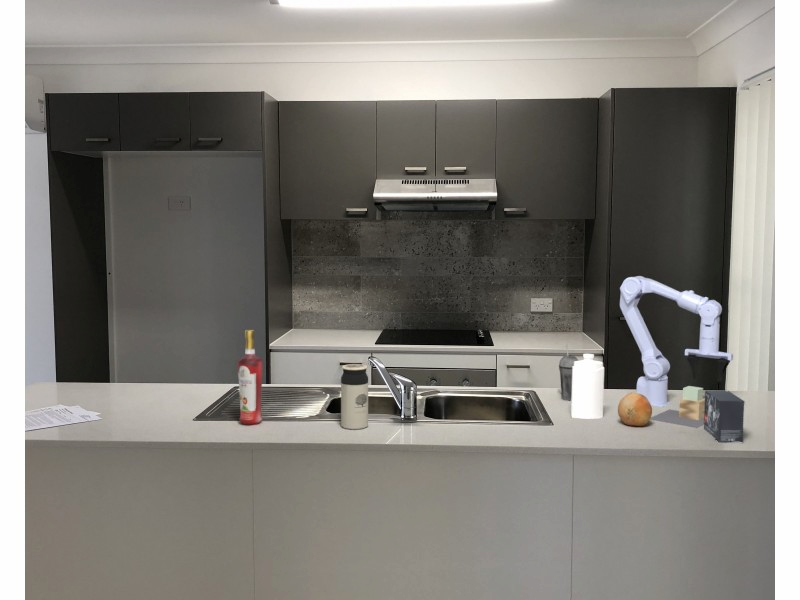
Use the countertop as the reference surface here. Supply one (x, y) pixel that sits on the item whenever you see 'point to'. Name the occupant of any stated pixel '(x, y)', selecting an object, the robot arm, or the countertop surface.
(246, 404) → the liquor
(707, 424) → the small box
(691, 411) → the oak slab lower
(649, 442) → the countertop surface
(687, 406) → the oak slab upper
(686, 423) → the mat
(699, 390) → the sage block
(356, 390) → the travel mug
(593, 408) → the squeeze bottle
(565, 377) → the beverage cup
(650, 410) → the onion
